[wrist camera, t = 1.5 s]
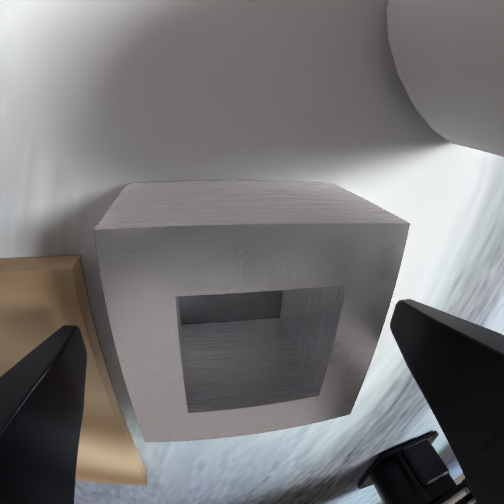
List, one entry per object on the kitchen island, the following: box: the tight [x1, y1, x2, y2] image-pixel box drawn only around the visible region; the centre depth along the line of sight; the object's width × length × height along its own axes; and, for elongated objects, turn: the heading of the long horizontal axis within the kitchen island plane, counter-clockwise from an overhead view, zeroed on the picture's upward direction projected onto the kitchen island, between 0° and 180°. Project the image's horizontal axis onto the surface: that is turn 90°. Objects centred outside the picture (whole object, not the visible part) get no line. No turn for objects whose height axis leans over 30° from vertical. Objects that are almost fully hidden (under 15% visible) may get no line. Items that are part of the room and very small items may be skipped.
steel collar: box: [94, 181, 410, 442], centre depth 9 cm, size 6×6×4 cm
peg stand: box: [0, 255, 147, 485], centre depth 8 cm, size 14×10×6 cm
